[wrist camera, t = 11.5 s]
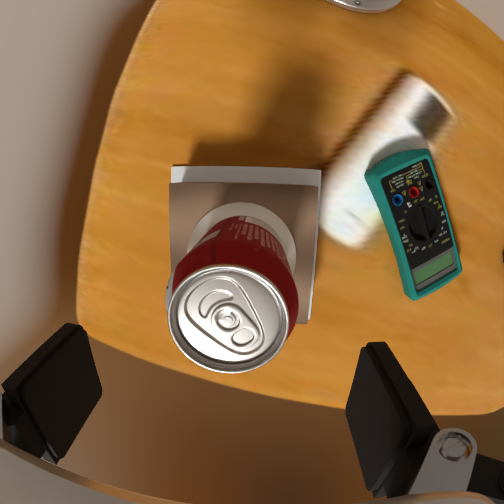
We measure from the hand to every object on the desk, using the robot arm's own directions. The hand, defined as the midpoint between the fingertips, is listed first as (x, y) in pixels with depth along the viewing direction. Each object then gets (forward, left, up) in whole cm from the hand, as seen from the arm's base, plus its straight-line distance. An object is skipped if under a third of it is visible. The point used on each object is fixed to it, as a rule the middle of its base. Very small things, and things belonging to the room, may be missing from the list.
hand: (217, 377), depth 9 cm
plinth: (0, 0, -20) cm, 20 cm away
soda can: (0, 0, -16) cm, 16 cm away
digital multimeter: (-3, +18, -21) cm, 28 cm away
